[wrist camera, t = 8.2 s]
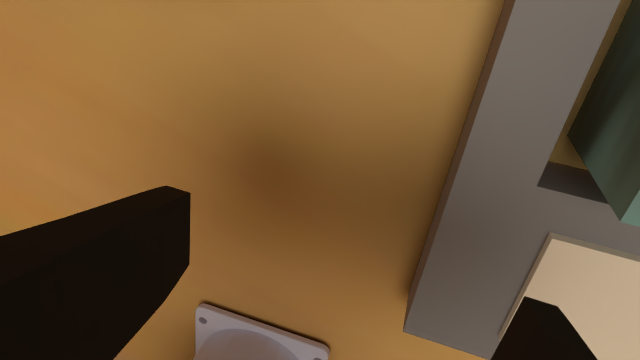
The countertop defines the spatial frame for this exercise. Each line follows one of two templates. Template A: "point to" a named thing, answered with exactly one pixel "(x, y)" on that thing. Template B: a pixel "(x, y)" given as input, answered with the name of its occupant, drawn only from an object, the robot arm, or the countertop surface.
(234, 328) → the robot arm
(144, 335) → the countertop surface
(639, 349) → the frame
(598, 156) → the block
